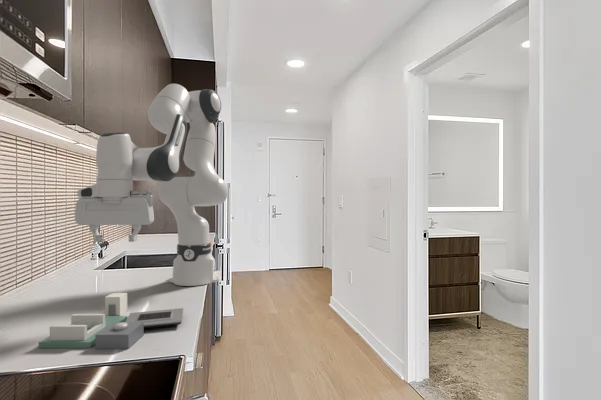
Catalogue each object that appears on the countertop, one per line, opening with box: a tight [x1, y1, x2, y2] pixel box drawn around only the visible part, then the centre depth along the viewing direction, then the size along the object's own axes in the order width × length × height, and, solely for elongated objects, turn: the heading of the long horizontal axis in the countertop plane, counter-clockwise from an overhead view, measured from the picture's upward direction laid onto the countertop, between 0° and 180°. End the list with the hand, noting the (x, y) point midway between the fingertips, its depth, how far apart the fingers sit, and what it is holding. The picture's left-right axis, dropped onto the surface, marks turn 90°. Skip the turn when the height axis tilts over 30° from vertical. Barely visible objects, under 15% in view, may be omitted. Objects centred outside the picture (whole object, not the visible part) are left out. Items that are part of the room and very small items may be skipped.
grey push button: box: [95, 322, 145, 350], centre depth 78 cm, size 7×7×4 cm
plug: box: [104, 292, 128, 316], centre depth 96 cm, size 5×4×5 cm
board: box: [37, 313, 128, 349], centre depth 83 cm, size 16×11×4 cm
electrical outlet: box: [125, 307, 184, 329], centre depth 89 cm, size 13×10×2 cm
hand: (115, 241), depth 96 cm, fingers open, 8 cm apart
